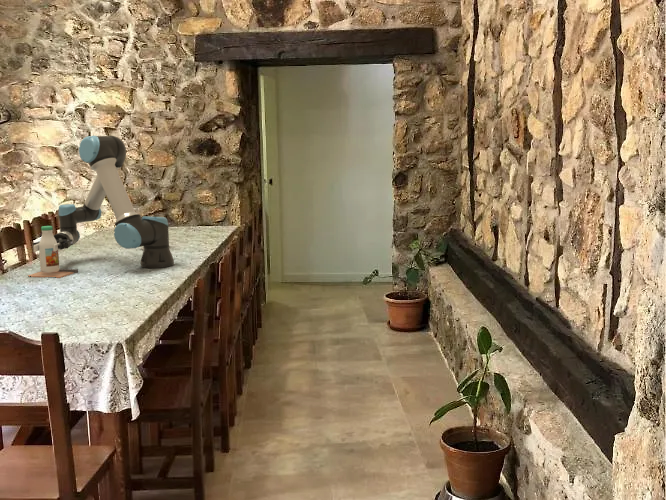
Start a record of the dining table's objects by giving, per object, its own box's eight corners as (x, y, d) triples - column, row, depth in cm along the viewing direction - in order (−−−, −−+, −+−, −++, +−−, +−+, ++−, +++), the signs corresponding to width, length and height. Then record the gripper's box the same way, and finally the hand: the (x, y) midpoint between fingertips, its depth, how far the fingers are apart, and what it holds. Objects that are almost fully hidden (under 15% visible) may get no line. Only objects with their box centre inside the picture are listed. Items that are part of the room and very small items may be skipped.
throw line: (78, 272, 305) (78, 269, 305) (76, 273, 304) (76, 269, 304) (42, 271, 309) (42, 268, 309) (40, 272, 308) (40, 268, 308)
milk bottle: (39, 273, 295) (35, 227, 292) (42, 270, 303) (38, 225, 299) (58, 272, 297) (55, 227, 294) (60, 269, 305) (57, 224, 301)
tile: (73, 273, 303) (73, 272, 303) (60, 277, 294) (60, 276, 294) (41, 272, 307) (41, 271, 307) (27, 276, 297) (27, 275, 297)
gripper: (85, 248, 317) (69, 256, 295) (40, 248, 316) (20, 257, 294) (84, 232, 316) (67, 239, 293) (38, 232, 315) (19, 240, 292)
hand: (44, 248), depth 293 cm, fingers closed on milk bottle, 8 cm apart
